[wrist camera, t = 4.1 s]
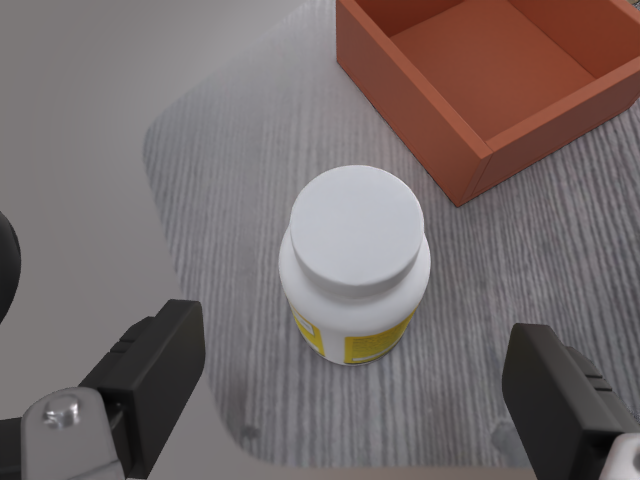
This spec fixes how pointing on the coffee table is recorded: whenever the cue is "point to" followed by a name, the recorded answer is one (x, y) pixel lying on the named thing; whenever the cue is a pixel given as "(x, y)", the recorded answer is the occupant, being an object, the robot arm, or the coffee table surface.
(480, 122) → the terracotta bin
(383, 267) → the supplement bottle
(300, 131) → the coffee table surface
